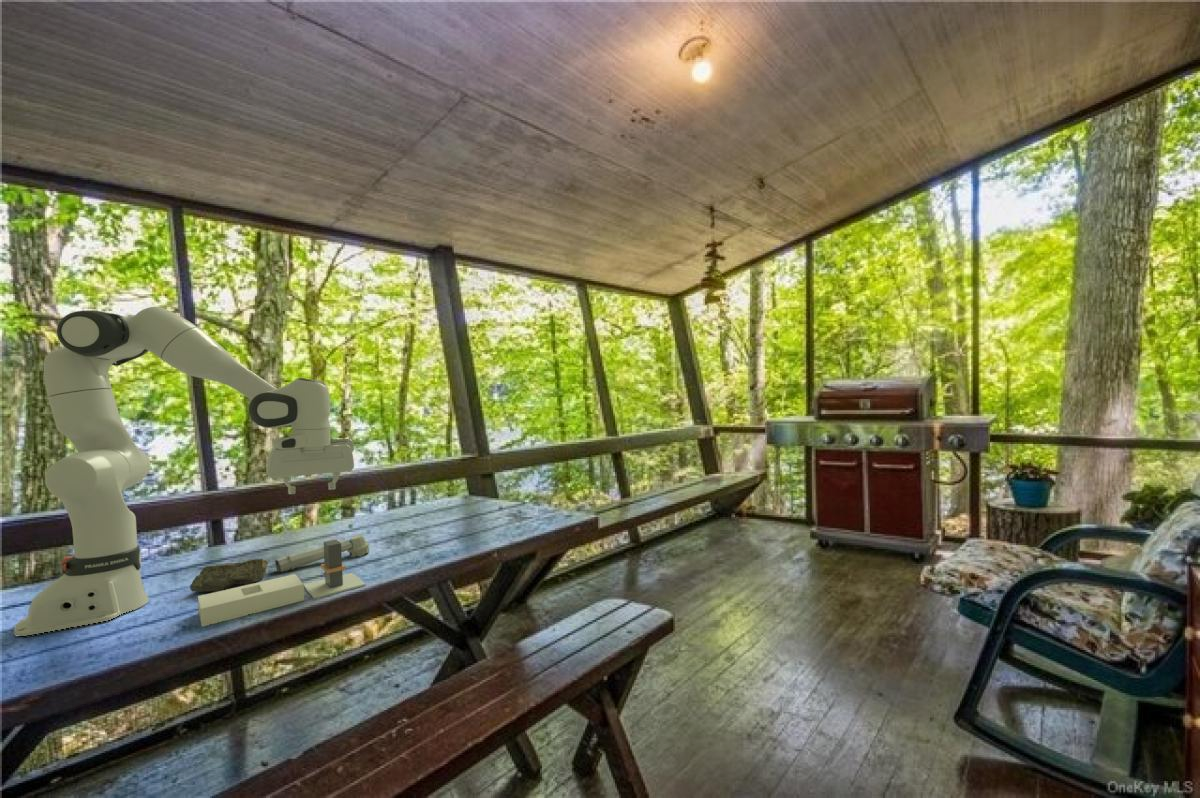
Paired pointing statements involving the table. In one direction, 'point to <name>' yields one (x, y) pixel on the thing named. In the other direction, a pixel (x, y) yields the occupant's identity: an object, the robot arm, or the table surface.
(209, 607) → the block
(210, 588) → the rock
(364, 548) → the beige flashlight
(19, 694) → the table surface
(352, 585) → the mat
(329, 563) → the plug
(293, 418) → the robot arm
